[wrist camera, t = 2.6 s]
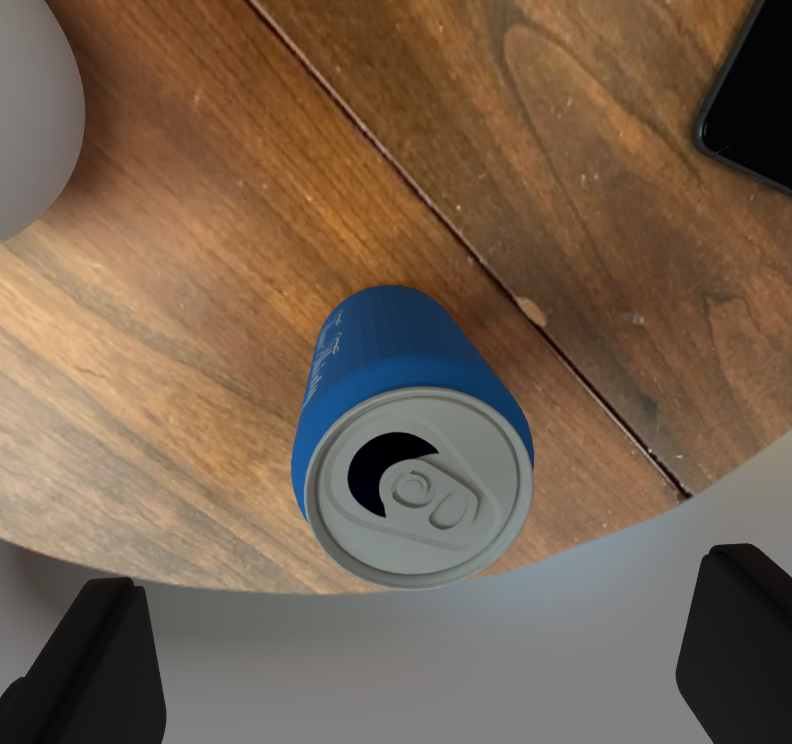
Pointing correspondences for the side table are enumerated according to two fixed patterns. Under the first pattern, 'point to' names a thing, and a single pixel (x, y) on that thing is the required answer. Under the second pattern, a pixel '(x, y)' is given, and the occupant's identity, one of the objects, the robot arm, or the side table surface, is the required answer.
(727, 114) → the smartphone
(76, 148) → the ornament
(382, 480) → the beverage can
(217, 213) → the side table surface
